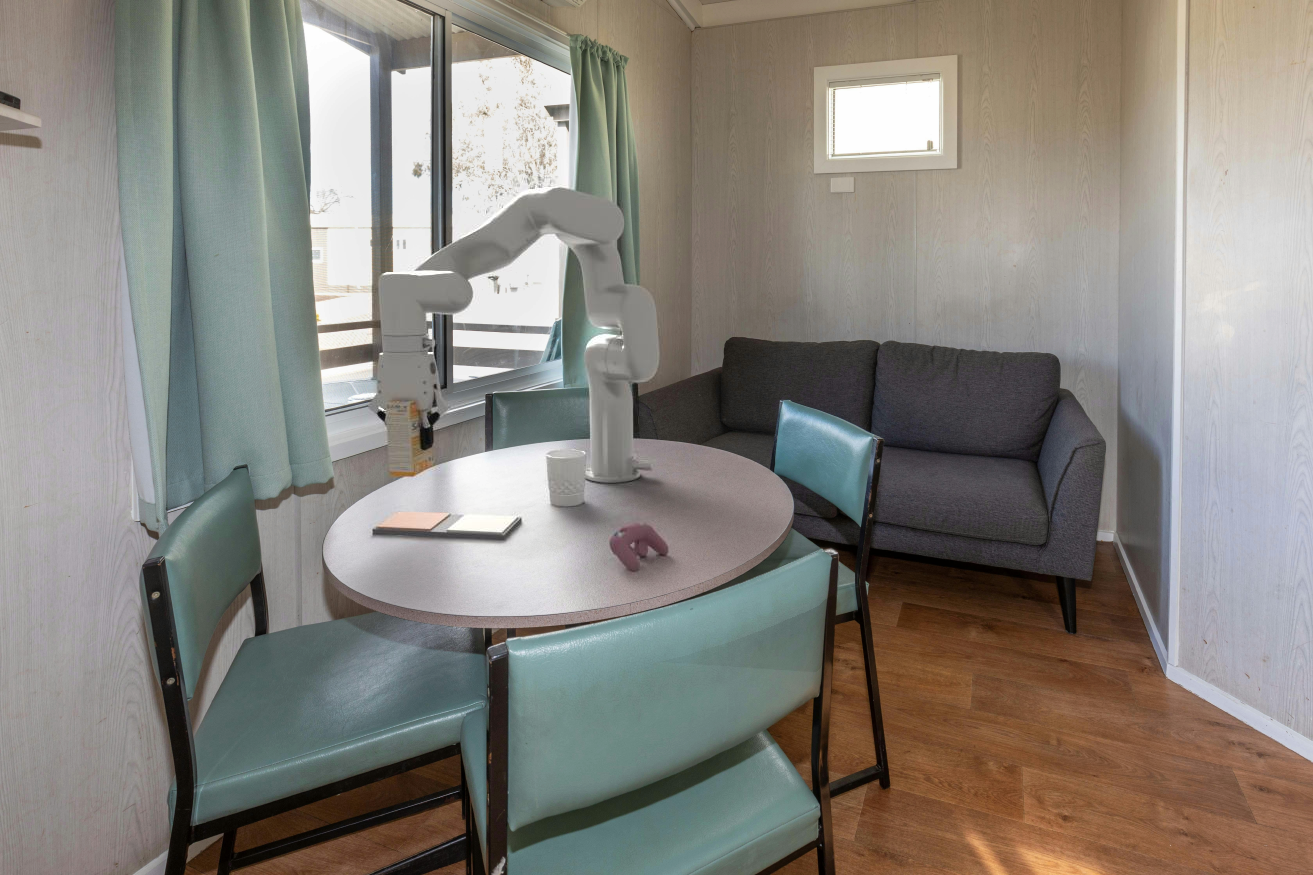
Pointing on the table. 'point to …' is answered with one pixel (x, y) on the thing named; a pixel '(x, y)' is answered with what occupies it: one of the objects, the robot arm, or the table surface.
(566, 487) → the white cup
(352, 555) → the table surface
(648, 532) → the video game controller
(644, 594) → the table surface
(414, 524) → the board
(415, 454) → the supplement box
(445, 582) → the table surface
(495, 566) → the table surface
